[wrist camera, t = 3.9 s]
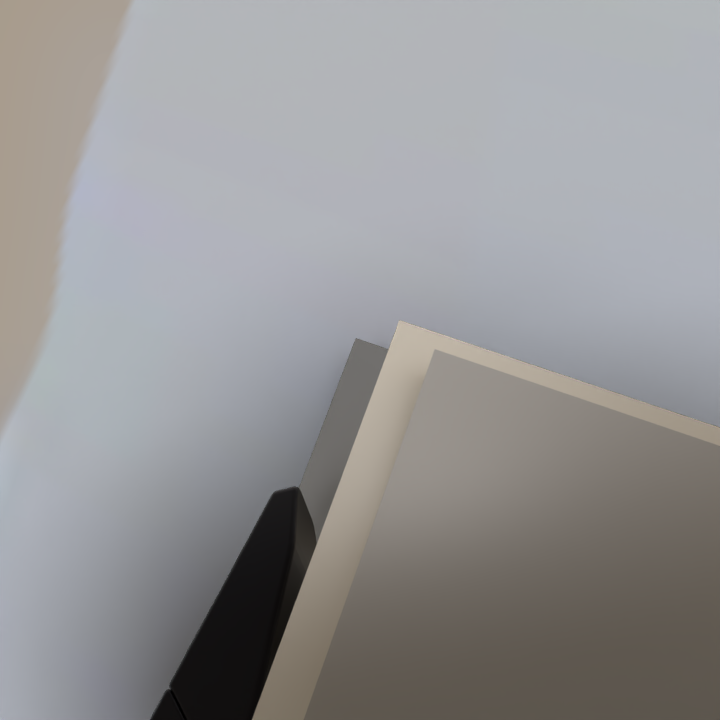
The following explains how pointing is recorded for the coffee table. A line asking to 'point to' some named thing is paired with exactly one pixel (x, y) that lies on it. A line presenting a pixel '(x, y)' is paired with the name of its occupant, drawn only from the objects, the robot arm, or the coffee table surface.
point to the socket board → (340, 429)
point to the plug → (509, 554)
